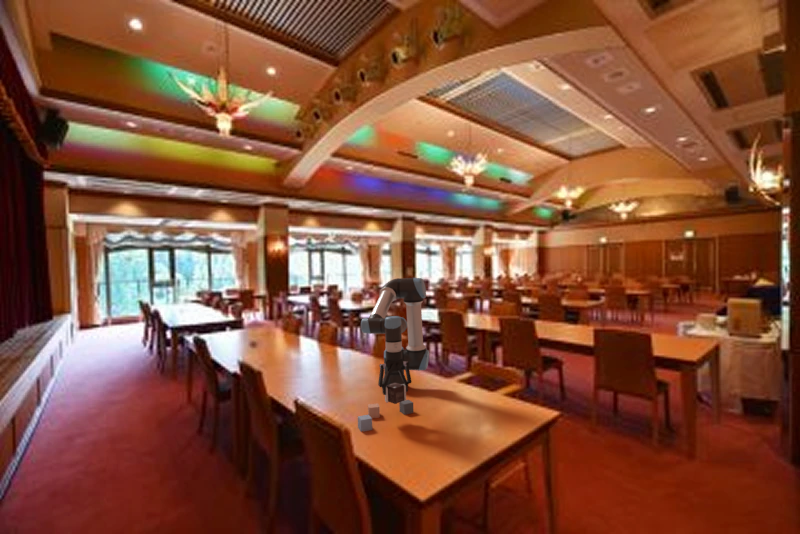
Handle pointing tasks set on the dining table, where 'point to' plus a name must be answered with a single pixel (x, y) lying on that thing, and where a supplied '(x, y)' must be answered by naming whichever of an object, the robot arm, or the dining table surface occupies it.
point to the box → (395, 393)
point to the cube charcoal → (406, 407)
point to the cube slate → (364, 423)
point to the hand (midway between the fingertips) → (395, 400)
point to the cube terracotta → (373, 410)
